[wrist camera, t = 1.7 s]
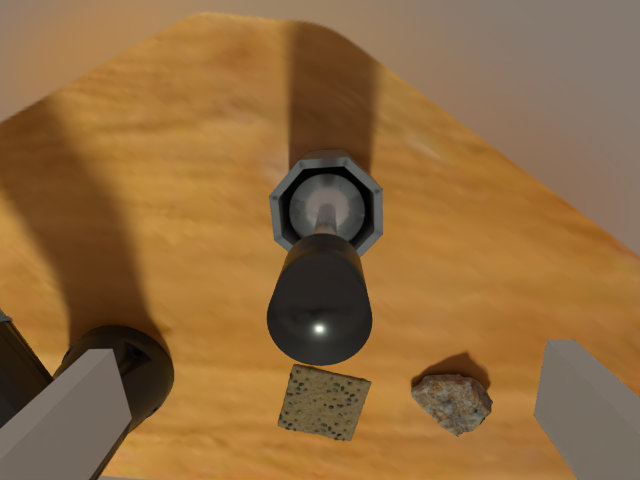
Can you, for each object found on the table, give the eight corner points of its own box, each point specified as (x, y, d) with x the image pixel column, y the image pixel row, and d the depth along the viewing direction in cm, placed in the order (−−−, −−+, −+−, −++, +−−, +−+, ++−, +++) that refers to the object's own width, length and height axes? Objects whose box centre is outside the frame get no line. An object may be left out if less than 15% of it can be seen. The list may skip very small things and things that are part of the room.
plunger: (293, 246, 32) (245, 394, 14) (287, 175, 30) (220, 243, 12) (364, 243, 32) (406, 389, 14) (362, 170, 30) (408, 233, 12)
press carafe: (295, 242, 44) (279, 288, 31) (286, 152, 41) (265, 162, 28) (368, 238, 44) (383, 283, 31) (366, 146, 40) (381, 154, 27)
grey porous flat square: (351, 440, 54) (352, 445, 54) (277, 423, 54) (276, 429, 53) (373, 379, 51) (373, 384, 50) (293, 361, 50) (292, 365, 49)
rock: (494, 383, 50) (445, 359, 47) (511, 424, 45) (459, 400, 42) (449, 408, 54) (402, 387, 51) (461, 448, 50) (409, 428, 46)
